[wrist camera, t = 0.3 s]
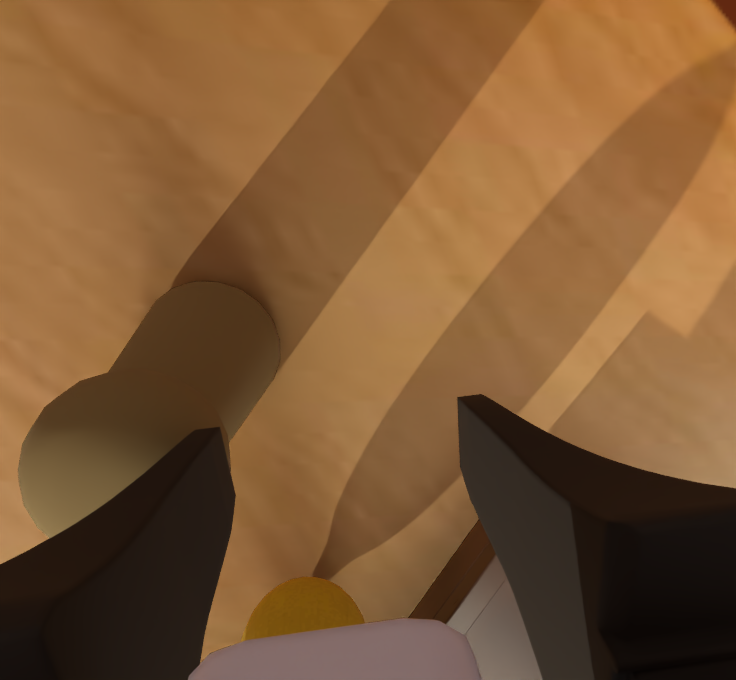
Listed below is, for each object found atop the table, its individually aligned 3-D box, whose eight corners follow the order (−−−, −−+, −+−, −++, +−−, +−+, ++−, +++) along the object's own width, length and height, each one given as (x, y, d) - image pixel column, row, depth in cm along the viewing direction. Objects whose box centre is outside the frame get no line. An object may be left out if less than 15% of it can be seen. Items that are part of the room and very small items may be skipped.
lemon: (270, 530, 25) (248, 662, 17) (378, 559, 26) (403, 697, 18) (236, 627, 26) (200, 795, 18) (342, 652, 27) (351, 823, 19)
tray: (542, 766, 30) (565, 820, 27) (363, 680, 27) (368, 729, 25) (672, 600, 28) (710, 639, 25) (495, 496, 26) (515, 526, 23)
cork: (122, 291, 22) (-73, 409, 12) (266, 271, 22) (200, 371, 12) (159, 419, 24) (21, 619, 14) (291, 401, 24) (254, 586, 14)
